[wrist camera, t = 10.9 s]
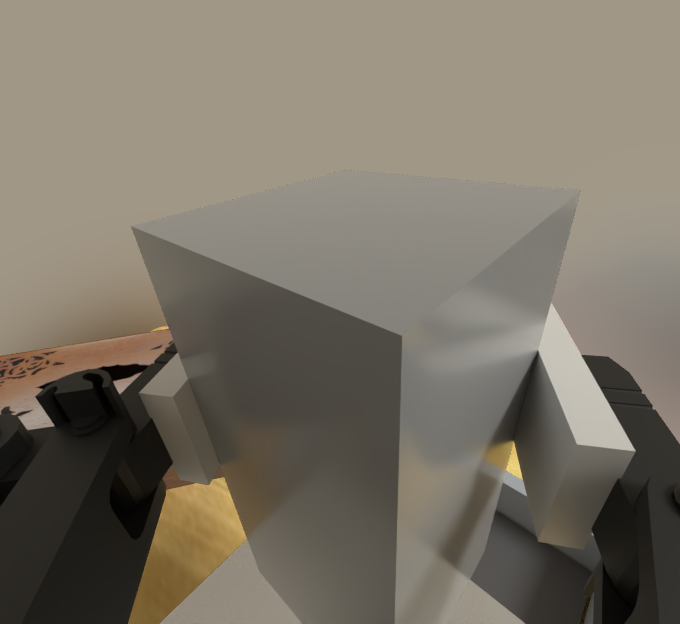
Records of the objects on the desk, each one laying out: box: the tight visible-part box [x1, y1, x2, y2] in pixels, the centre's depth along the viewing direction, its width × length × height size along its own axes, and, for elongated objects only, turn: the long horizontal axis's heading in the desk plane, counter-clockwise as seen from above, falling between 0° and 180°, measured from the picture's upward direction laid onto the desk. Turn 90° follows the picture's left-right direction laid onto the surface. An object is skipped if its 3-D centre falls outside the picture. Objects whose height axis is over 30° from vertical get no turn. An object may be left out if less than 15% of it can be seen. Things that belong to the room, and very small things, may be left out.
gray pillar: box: [132, 170, 581, 624], centre depth 8 cm, size 5×5×11 cm
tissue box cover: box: [0, 329, 224, 490], centre depth 38 cm, size 26×14×10 cm, turn 102°
